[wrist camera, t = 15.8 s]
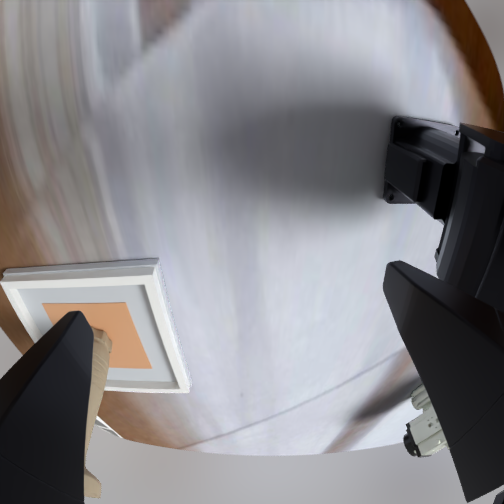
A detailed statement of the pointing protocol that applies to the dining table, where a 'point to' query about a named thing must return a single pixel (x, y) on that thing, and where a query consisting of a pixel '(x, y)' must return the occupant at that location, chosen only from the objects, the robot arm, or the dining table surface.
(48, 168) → the dining table surface
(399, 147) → the robot arm
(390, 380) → the dining table surface
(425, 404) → the pneumatic valve
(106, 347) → the handle
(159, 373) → the white shallow tray
